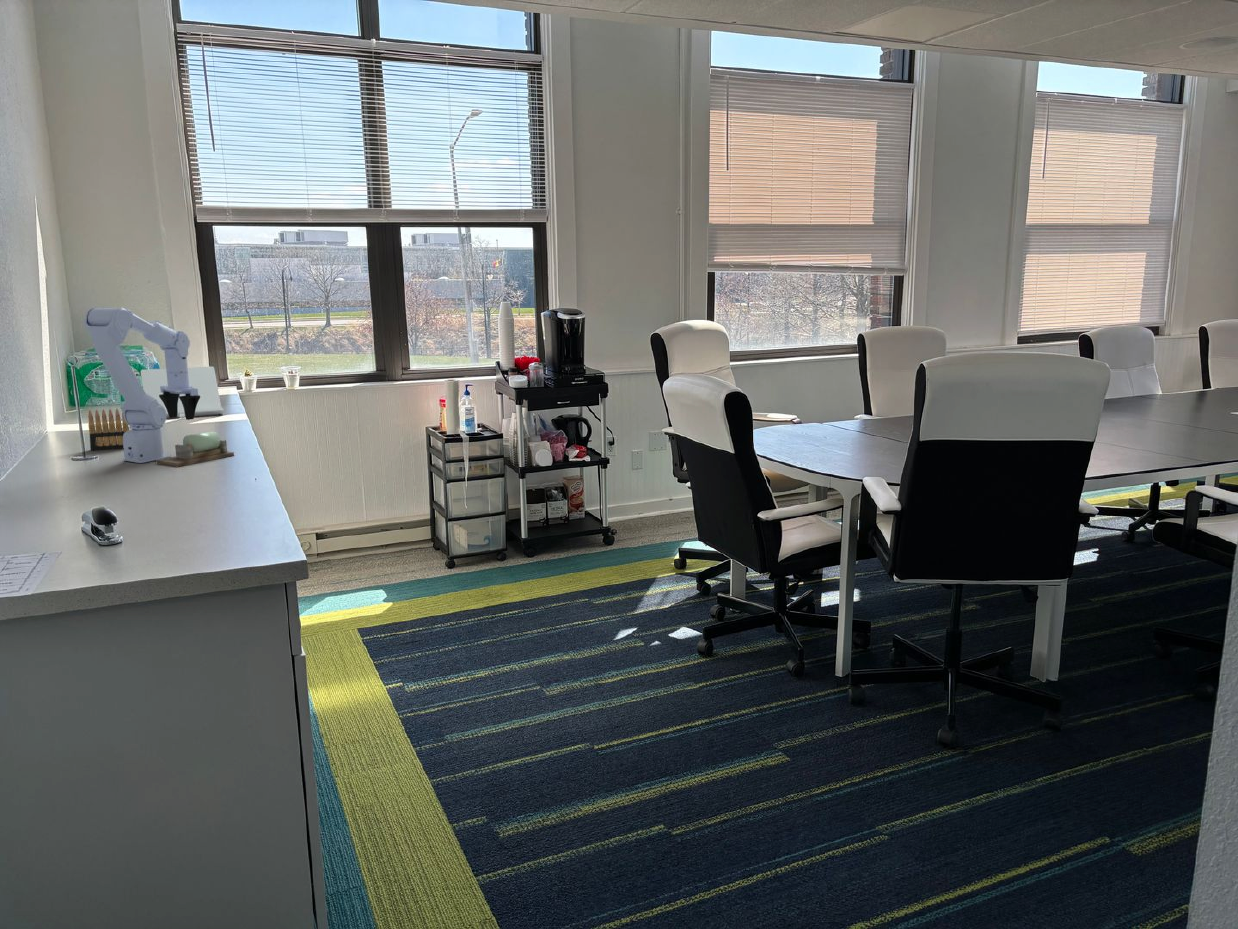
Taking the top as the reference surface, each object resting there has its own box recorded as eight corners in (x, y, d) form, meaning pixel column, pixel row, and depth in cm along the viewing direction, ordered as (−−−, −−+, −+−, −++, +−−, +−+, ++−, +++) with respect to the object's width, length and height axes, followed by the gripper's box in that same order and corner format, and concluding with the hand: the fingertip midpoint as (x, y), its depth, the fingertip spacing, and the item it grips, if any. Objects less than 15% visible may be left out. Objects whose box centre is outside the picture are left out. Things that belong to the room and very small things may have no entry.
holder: (177, 466, 248) (176, 450, 247) (156, 463, 252) (155, 447, 251) (234, 455, 263) (232, 440, 262) (213, 452, 267) (211, 437, 267)
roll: (195, 455, 255) (194, 436, 253) (183, 452, 257) (182, 434, 256) (220, 450, 261) (219, 432, 260) (208, 447, 264) (207, 430, 263)
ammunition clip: (90, 450, 270) (85, 410, 268) (91, 449, 272) (86, 409, 269) (131, 448, 274) (127, 408, 272) (131, 447, 276) (127, 407, 274)
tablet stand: (144, 414, 340) (139, 369, 337) (216, 409, 353) (212, 365, 350) (148, 421, 325) (143, 373, 322) (224, 416, 338) (220, 369, 334)
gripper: (205, 372, 267) (209, 418, 270) (173, 369, 274) (178, 414, 277) (184, 374, 261) (188, 421, 264) (151, 371, 268) (156, 417, 271)
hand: (181, 418), depth 270 cm, fingers open, 7 cm apart
